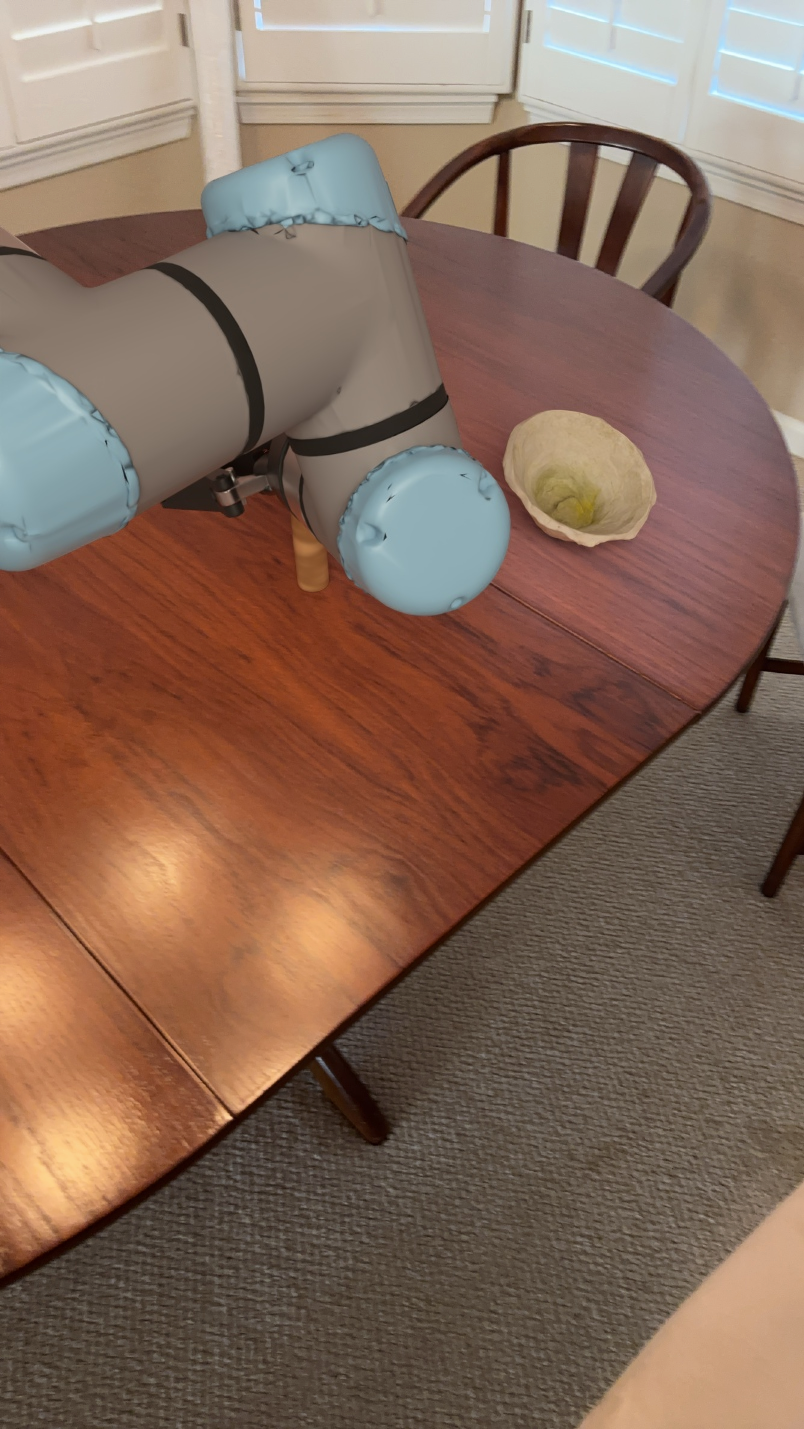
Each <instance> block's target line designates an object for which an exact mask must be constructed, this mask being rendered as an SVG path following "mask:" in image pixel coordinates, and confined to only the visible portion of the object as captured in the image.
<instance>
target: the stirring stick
mask: <svg viewBox="0 0 804 1429" xmlns="http://www.w3.org/2000/svg"><path fill="white" fill-rule="evenodd" d="M289 516H290V518H289V519H290V525H291V526H290V527H291V536H292V544H293V552H294V562H295V570H296V582H297V586H298V587H299V588H300V589H301V590H302V591H304V592H308V593H316V592H320V591H323V590H324V589H326V588H327V587H328V586H329V584H330V571H329V558H328V550H327V549H326V548H325V547H324V546H323V545H322V544H321V543H320V542H319V541H318V540H317V539H316V538H315V537H314V536H313V535H312V534H311V533H310V532H309V531H308V530H307V529H306V528H305V527H304V525H303V524H302V523H301V522H300V521H299V520H298V519H297V518H296V517H294V515H293V514H292V513H291V512H290V511H289Z"/></svg>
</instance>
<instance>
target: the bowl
mask: <svg viewBox="0 0 804 1429" xmlns="http://www.w3.org/2000/svg"><path fill="white" fill-rule="evenodd" d="M505 445H506V446H505V447H506V448H505V451H504V455H503V458H502V468H503V475H504V480H505V483H507V485H508V487H509V488H510V490H511V491H512V492H513V493H515V494H516V496H517V497H518V499H519V500H520V502H521V503H522V505H523V507H524V508H525V509H526V511H527V513H529V515H530V517H531V518H532V520H533V522H534V523H535V524H536V526H537V527H538V528H540V530H542V531H543V532H544V533H545V534H546V535H548V536H549V537H552V538H555V539H558V540H561V541H564V542H573V543H576V544H577V545H579V546H580V545H582V546H585V547H587V548H594V547H595V546H597V545H599V544H602V543H606V542H613V541H623V540H625V541H630V540H632V539H635V538H636V536H637V535H638V534H639V532H640V530H641V529H642V527H643V526H644V525H645V523H646V521H647V520H648V518H649V515H650V513H651V509H652V507H653V506H654V505H656V502H657V498H658V495H657V491H656V487H655V481H654V476H653V474H652V471H651V469H650V467H649V466H648V465H647V463H646V460H645V457H644V454H643V452H642V451H641V449H639V447H638V446H637V445H636V444H635V443H634V442H632V440H631V439H629V437H627V435H625V434H623V433H622V432H620V431H619V430H618V429H616V428H614V427H613V426H611V424H610V423H609V422H607V421H606V420H605V419H603V418H602V417H600V416H594V415H590V414H587V413H584V412H580V411H575V410H566V409H548V410H543V411H539V412H537V413H535V414H533V415H530V417H528V418H526V419H524V420H522V421H521V422H520V423H518V424H516V425H515V426H514V428H513V429H512V430H511V432H510V434H509V436H508V439H507V442H506V444H505Z"/></svg>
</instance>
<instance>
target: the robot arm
mask: <svg viewBox="0 0 804 1429" xmlns="http://www.w3.org/2000/svg"><path fill="white" fill-rule="evenodd" d="M378 158H379V157H378V156H377V154H376V152H375V149H374V148H373V147H372V145H371V144H370V143H369V142H368V140H366V139H364V138H363V137H362V136H360V135H358V134H355V133H351V132H339V133H335V134H333V135H329V136H328V137H325V138H323V139H320V140H317V141H314V142H310V143H308V144H305V145H302V146H300V147H298V148H295V149H292V150H289V151H287V152H284V153H282V154H279V155H276V156H273V157H270V158H267V159H264V160H261V161H259V162H256V163H254V164H250V165H248V166H246V167H243V168H240V169H238V170H235V171H232V172H231V173H227V174H225V175H223V176H220V177H217V178H214V179H212V180H210V181H208V183H207V184H206V185H205V186H204V187H203V189H202V192H201V194H200V207H201V211H202V215H203V218H204V221H205V225H206V231H205V234H206V236H205V237H206V239H205V240H202V241H201V242H197V243H196V244H194V245H192V246H190V247H187V248H184V249H183V250H180V251H178V252H176V253H174V254H172V255H170V256H167V257H166V258H163V259H161V260H159V261H157V262H155V263H153V264H150V265H147V266H145V267H143V268H140V269H138V270H136V271H133V272H131V273H128V274H126V275H123V276H121V277H118V278H116V279H113V280H111V281H108V282H105V283H102V284H100V285H98V286H95V287H86V286H83V285H82V284H81V283H80V282H78V281H76V279H74V278H73V277H72V276H70V275H69V274H67V273H66V272H64V271H63V270H61V269H60V268H58V267H57V266H55V265H54V264H53V263H52V262H51V261H49V260H48V259H46V258H45V257H43V256H41V255H40V254H39V253H37V251H35V250H34V249H32V248H31V247H30V246H29V245H27V244H26V243H25V242H23V241H22V240H20V239H19V238H18V237H17V236H15V235H14V234H13V233H12V232H10V231H9V230H8V229H6V228H5V227H3V225H2V224H0V570H2V571H6V572H26V571H30V570H33V569H37V568H39V567H42V566H43V565H45V564H47V563H48V564H49V563H50V562H52V561H55V560H58V559H59V558H62V557H64V556H66V555H68V554H71V553H72V552H74V551H76V550H79V549H81V548H83V547H85V546H87V545H89V544H91V543H94V542H95V541H97V540H99V539H103V538H105V537H109V536H112V535H114V534H116V533H118V532H120V531H121V530H123V529H125V528H126V527H128V525H129V524H130V521H131V520H133V519H134V518H136V517H138V516H139V515H141V514H143V513H144V512H146V511H148V510H149V509H151V508H153V507H155V506H157V505H158V504H160V505H161V507H162V509H169V510H170V509H171V510H183V511H197V512H212V513H221V514H222V515H223V516H224V517H226V518H228V519H232V518H238V517H239V516H242V515H243V514H244V513H245V512H246V508H245V506H247V504H248V501H247V498H248V497H250V496H253V495H255V494H258V493H259V494H260V495H262V496H272V497H273V496H276V498H277V499H278V500H279V501H280V503H281V504H282V506H284V508H286V509H287V511H289V513H290V512H291V513H292V514H293V515H294V517H296V518H297V519H298V520H299V521H300V522H301V523H302V524H303V525H304V527H305V528H306V529H307V530H308V531H309V532H310V533H311V534H312V535H313V536H314V537H315V538H316V539H317V540H318V541H319V542H320V543H321V544H322V545H323V546H324V547H325V548H326V549H327V553H329V554H330V555H331V556H332V557H333V559H335V561H336V562H337V563H338V564H339V565H340V567H342V569H343V571H344V573H345V575H346V577H347V578H348V580H350V581H352V582H353V585H354V586H356V587H357V588H359V589H361V590H362V592H364V593H365V594H367V595H369V596H370V597H373V598H374V599H375V600H377V601H378V602H380V603H381V604H383V605H384V606H385V607H388V608H390V609H391V610H394V611H395V612H399V613H402V614H405V615H410V616H416V617H431V616H432V617H433V616H440V615H442V614H446V613H450V612H452V611H457V610H458V609H460V608H461V607H463V606H465V605H466V604H468V603H470V602H472V601H473V600H474V599H476V598H477V597H478V596H479V595H480V594H481V593H483V592H484V591H485V590H486V588H487V587H488V586H489V585H490V584H491V583H492V582H493V581H494V579H495V577H496V575H497V574H498V572H499V571H500V569H501V568H502V565H503V563H504V560H505V558H506V556H507V553H508V548H509V544H510V539H511V528H512V527H511V525H512V524H511V522H512V520H511V513H510V506H509V503H508V501H507V498H506V496H505V493H504V491H503V489H502V487H501V486H500V484H499V482H498V480H496V479H495V478H494V477H493V475H492V474H491V473H490V472H489V470H487V469H486V468H484V465H483V464H482V463H481V462H480V461H479V460H478V459H476V458H474V457H473V456H471V454H470V452H468V451H466V450H465V448H464V444H463V441H462V437H461V433H460V429H459V426H458V423H457V418H456V416H455V412H454V408H453V406H452V402H451V399H450V396H449V394H448V393H447V390H446V387H445V384H444V380H443V377H442V373H441V370H440V365H439V362H438V359H437V358H438V357H437V354H436V351H435V347H434V344H433V340H432V336H431V332H430V329H429V325H428V322H427V316H426V314H425V310H424V306H423V303H422V302H423V301H422V299H421V296H420V292H419V287H418V284H417V280H416V277H415V273H414V269H413V264H412V261H411V258H410V254H409V250H408V246H407V245H408V242H409V239H408V234H407V230H406V229H405V228H404V227H403V226H402V223H401V220H400V217H399V213H398V211H397V207H396V205H395V202H394V197H393V194H392V192H391V189H390V186H389V183H388V181H387V180H386V178H385V176H384V172H383V169H382V166H381V163H380V161H379V159H378Z"/></svg>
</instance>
